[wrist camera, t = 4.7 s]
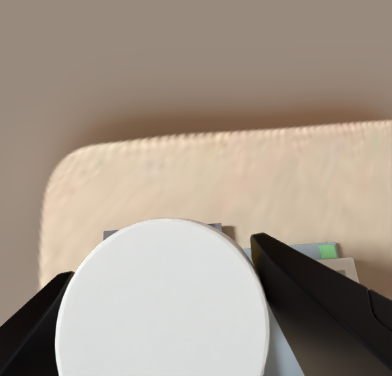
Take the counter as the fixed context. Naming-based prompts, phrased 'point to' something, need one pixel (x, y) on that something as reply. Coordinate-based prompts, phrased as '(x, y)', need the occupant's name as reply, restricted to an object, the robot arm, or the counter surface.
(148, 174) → the counter surface
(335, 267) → the panel
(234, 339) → the supplement bottle
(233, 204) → the counter surface
